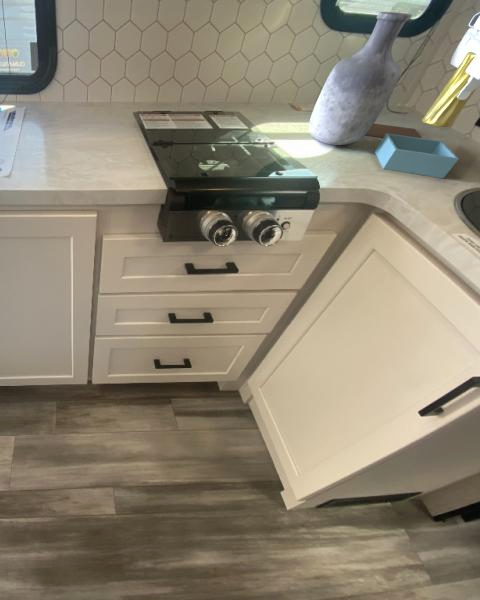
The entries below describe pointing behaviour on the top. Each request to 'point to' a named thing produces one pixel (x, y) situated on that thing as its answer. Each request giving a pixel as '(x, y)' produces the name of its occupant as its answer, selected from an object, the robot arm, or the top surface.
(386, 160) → the crate
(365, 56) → the vase
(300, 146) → the top surface
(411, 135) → the mat
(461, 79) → the vase
